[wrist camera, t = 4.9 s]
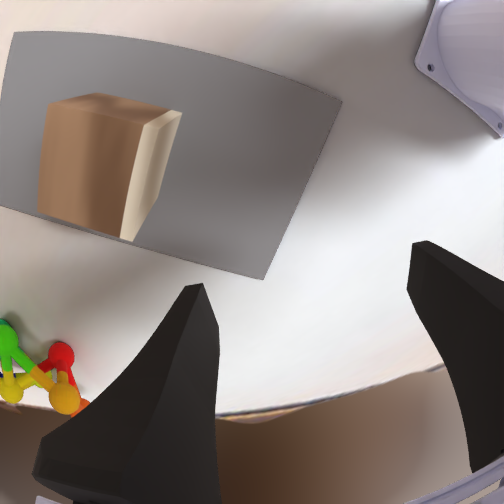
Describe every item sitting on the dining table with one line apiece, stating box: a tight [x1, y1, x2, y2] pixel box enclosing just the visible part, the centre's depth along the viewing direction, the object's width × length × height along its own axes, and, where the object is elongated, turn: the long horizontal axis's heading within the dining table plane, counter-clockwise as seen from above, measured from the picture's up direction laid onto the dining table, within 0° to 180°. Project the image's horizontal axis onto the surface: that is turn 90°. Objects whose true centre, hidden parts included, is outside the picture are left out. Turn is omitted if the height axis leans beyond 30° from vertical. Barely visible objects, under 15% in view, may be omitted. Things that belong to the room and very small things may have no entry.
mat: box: [0, 31, 342, 280], centre depth 15 cm, size 20×12×1 cm, turn 71°
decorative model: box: [0, 319, 90, 417], centre depth 21 cm, size 13×9×15 cm
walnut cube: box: [37, 92, 182, 242], centre depth 13 cm, size 5×5×5 cm
